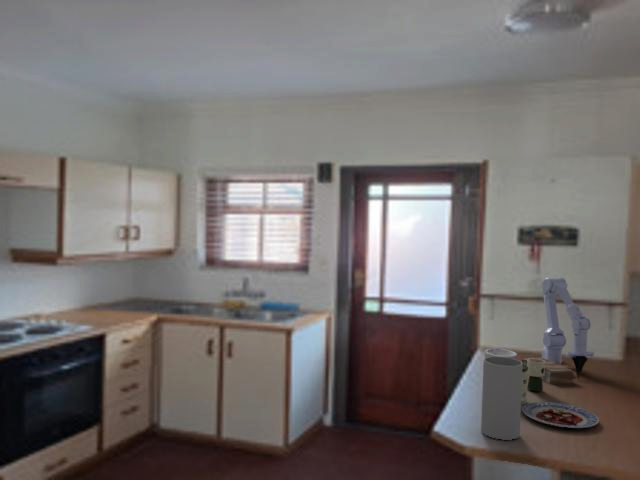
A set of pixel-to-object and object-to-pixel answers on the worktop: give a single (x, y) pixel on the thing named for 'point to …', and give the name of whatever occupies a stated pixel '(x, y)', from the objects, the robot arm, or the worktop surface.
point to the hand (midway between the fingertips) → (578, 371)
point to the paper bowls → (500, 353)
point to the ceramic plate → (560, 415)
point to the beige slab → (554, 372)
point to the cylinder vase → (501, 397)
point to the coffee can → (524, 384)
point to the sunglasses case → (570, 368)
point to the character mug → (535, 373)
